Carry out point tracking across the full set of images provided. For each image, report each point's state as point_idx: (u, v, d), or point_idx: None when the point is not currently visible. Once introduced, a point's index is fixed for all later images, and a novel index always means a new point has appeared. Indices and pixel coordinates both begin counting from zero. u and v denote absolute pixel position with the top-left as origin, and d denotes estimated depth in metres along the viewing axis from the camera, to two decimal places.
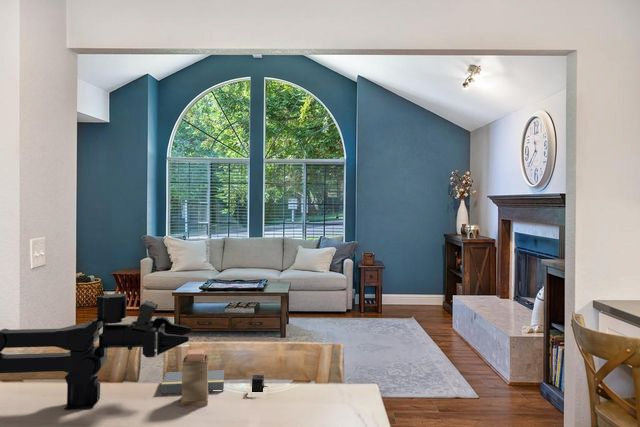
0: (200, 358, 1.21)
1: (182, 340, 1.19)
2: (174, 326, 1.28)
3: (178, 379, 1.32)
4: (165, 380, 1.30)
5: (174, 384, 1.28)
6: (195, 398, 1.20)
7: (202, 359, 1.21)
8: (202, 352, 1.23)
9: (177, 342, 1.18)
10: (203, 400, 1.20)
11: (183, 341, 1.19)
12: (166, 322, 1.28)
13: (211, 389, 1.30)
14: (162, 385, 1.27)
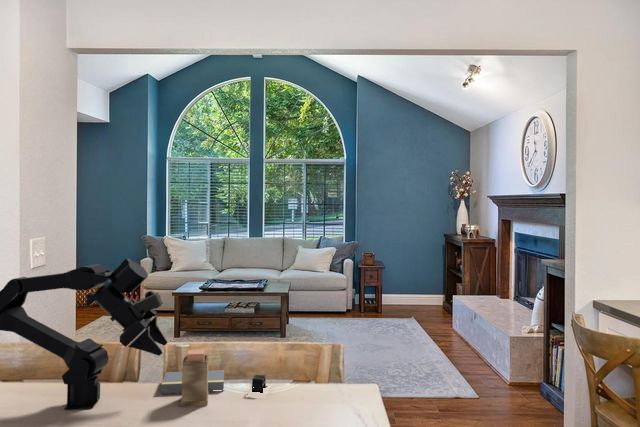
0: (200, 358, 1.21)
1: (155, 351, 1.16)
2: (156, 328, 1.26)
3: (178, 379, 1.32)
4: (165, 380, 1.30)
5: (174, 384, 1.28)
6: (195, 398, 1.20)
7: (202, 359, 1.21)
8: (202, 352, 1.23)
9: (151, 349, 1.16)
10: (203, 400, 1.20)
11: (155, 352, 1.16)
12: (154, 320, 1.26)
13: (211, 389, 1.30)
14: (162, 385, 1.27)
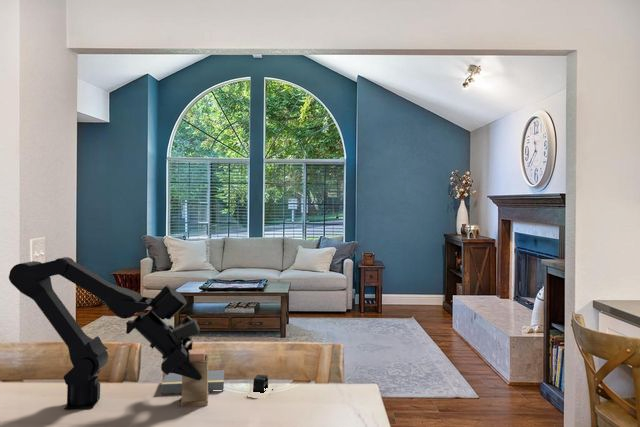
0: (200, 358, 1.21)
1: (195, 376, 1.19)
2: None
3: (178, 379, 1.32)
4: (165, 380, 1.30)
5: (174, 384, 1.28)
6: (195, 398, 1.20)
7: (202, 359, 1.21)
8: (202, 352, 1.23)
9: (191, 374, 1.19)
10: (203, 400, 1.20)
11: (195, 377, 1.19)
12: (190, 347, 1.26)
13: (211, 389, 1.30)
14: (162, 385, 1.27)
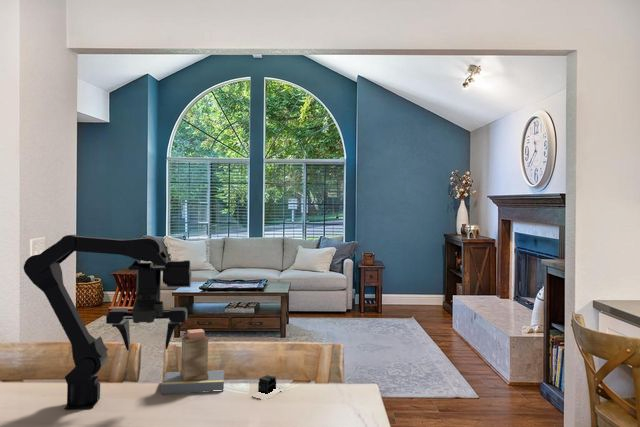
0: (201, 336, 1.33)
1: None
2: (167, 332, 1.22)
3: (178, 379, 1.32)
4: (165, 380, 1.30)
5: (174, 384, 1.28)
6: (197, 373, 1.31)
7: (203, 337, 1.33)
8: (202, 331, 1.34)
9: None
10: (204, 374, 1.32)
11: None
12: (168, 325, 1.21)
13: (211, 389, 1.30)
14: (162, 385, 1.27)
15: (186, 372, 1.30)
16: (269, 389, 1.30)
